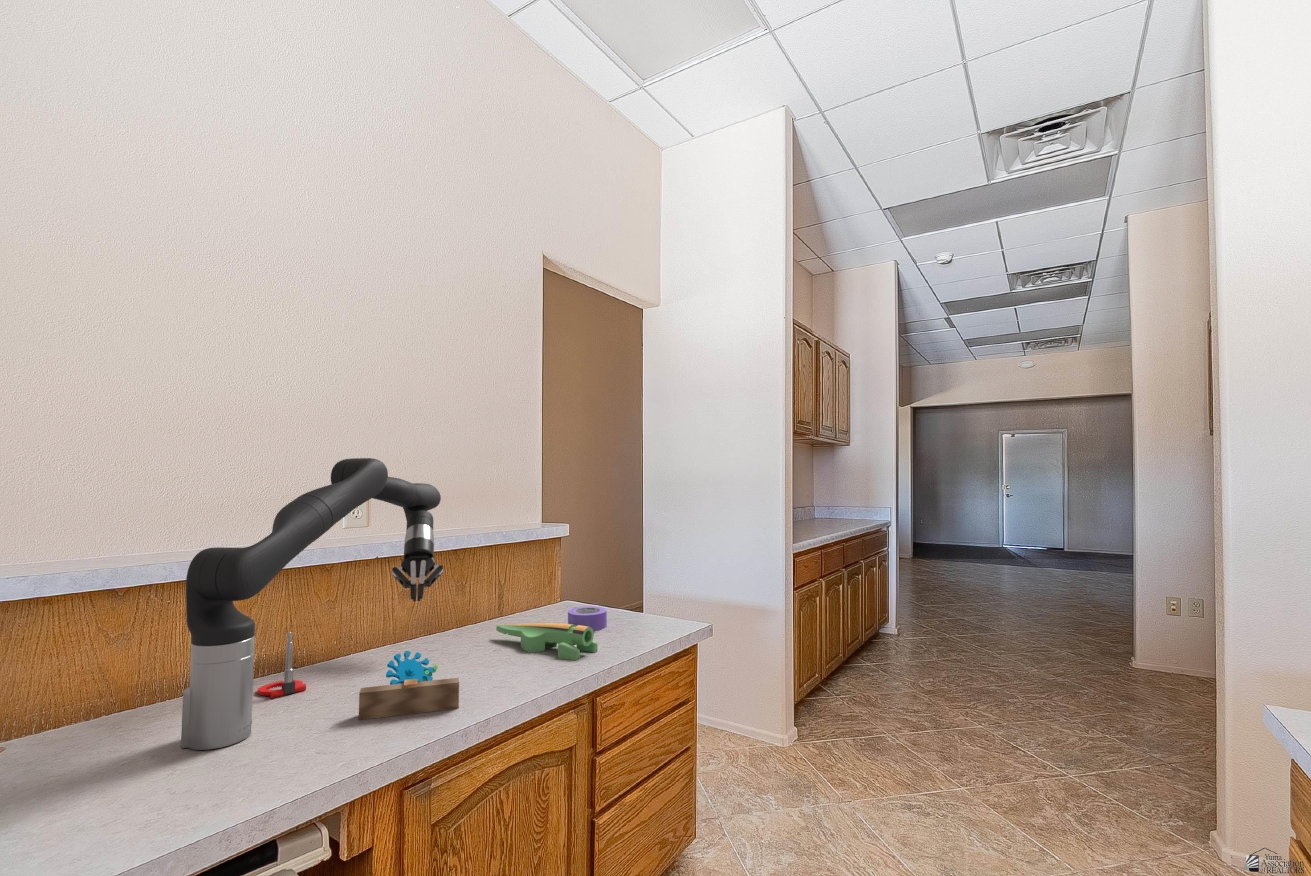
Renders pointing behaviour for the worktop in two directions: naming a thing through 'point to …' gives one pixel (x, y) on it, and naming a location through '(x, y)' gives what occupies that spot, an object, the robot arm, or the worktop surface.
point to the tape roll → (588, 617)
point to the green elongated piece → (553, 637)
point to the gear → (410, 669)
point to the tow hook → (288, 684)
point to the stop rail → (408, 698)
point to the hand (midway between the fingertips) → (416, 599)
